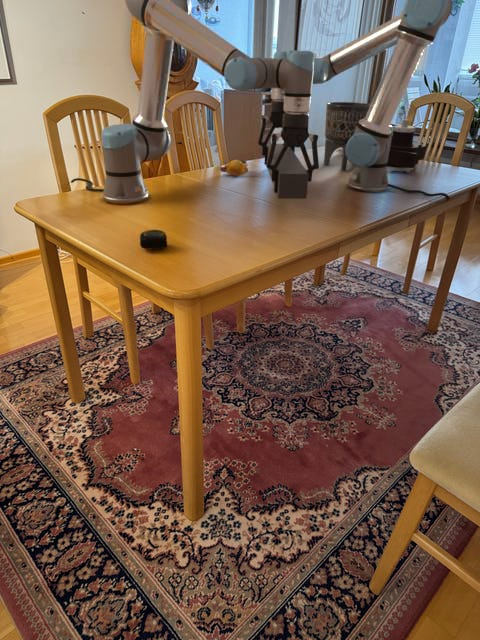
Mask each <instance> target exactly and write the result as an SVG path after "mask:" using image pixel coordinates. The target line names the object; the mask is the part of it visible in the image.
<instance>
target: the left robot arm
mask: <svg viewBox="0 0 480 640" xmlns="http://www.w3.org/2000/svg"><path fill="white" fill-rule="evenodd" d="M124 1H125V5H126V7H127V10H128V11H129V13H130V14H131V15H132V17H134V18H135V19H136V21H138V22H140V23H141V26H142V28H143V29H144V31H145V33H146V34H145V43H144V51H143V52H144V54H143V63H142V70H141V71H142V72H141V81H140V89H139V90H140V91H139V100H138V109H137V110H138V111H137V113H136V114H135V115H133V116H132V123H119V124H111V125H108V126H106V127H104V128H103V129H102V130H101V133H100V136H101V138H100V139H101V142H100V144H101V148H102V155H103V164H104V170H105V181H104V187H103V188H92V186H93V185H94V183H93V181H91V180H88V179H85V178H80V177H77V178H73V179H72V180H70V184H73V183H74V182H76V181H81V182H86V183H88V184H86V185H85V190H87V191H90V192H102V198H103V199H102V200H103V201H104V202H105V203H108V204H112V205H135V204H140V203H143V202H145V201H147V200H148V199H149V191H148V189H147V186H146V184H145V181H144V179H143V177H142V169H141V164H145V163H147V162H154V161H157V160H159V159H161V158H163V157H165V156H166V155H167V153H168V152H169V150H170V149H171V148H170V147H171V142H172V141H171V135H170V134H169V130H168V129H167V127H168V124H167V122H166V121H165V119H164V116H165V109H166V103H167V102H166V101H167V95H168V87H169V81H170V80H169V79H170V73H171V67H172V59H173V52H174V51H173V50H174V45H175V43H176V44H177V45H178V46H180V47H181V48H183V49H184V50H186V51H187V52H188V53H190V54H191V55H192V56H194V57H195V58H197V59H198V60H200V61H201V62H202V63H204V64H205V65H207V66H208V67H209V68H211V69H212V70H214V71H215V72H217V73H218V74H219V75H220V76H222V77H224V80H225V82H226V84H227V85H228V86H229V87H230V88H231V89H232V90H235V91H239V92H245V91H250V90H251V91H252V90H261V89H272V88H279V89H285V96H284V111H285V113H284V114H283V126H282V128H281V131H280V132H276V133H275V132H273V133H272V134H271V137H270V139H271V142H270V144H271V146H270V150H269V154H268V158H267V162H266V165H265V166H266V169H267V170H268V169H271V170H272V172H271V177H270V179H271V182H272V181H274V185H273V192H274V193H275V194H277V187H278V169H277V167H278V165H279V163H280V161H281V159H282V157H283V156H284V154H285V152H286V150H287V149H288V147H295V148H298V149H299V148H300V151H301V154H302V157H303V159H304V161H305V165H306V167H307V169H306V171H307V172H308V174H309V177H308V183H311V182H312V178H313V172H314V171H315V170H319V169H320V162H319V152H318V140H319V135H318V134H317V133H310V132H309V123H310V115H309V112H310V111H311V100H312V90H313V89H312V87H313V84H312V80H313V72H314V59H315V54H314V52H313V51H312V50H288V51H287V52H288V53H287V57H286V58H284V59H276V58H274V57H261V56H260V57H258V56H257V57H250V56H249V55H247V54H245V52H243V51H241V50H240V49H239V48H237V47H236V46H234V45H233V44H232V43H230V42H229V41H227V40H226V39H225V38H223V37H222V36H220V35H219V34H218V33H216V32H215V31H213V30H212V29H211V28H209V27H207V25H205V24H204V23H202V22H201V21H199V20H198V19H196V18H195V17H193V16H192V15H191V12H192V2H191V1H192V0H124ZM280 138H281V139H282V141H283V143H282V144H283V145H282V148H281V150H280V151H279V153H278V155H277V157H276V159H275V161H274V163H273V165H272V164H271V163H272V159H273V155H274V151H275V147H276V144H277V142H278V141H279V140H280ZM308 139H309V142H311V152H312V153H311V154H312V162H313V164H312V162H311V160H310V157H309V154H308V151H307V148H306V145H305V143H306V141H307V140H308ZM308 187H309V186H308ZM308 187H307V189H308Z"/></svg>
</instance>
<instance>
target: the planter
mask: <svg viewBox="0 0 480 640" xmlns="http://www.w3.org/2000/svg"><path fill="white" fill-rule="evenodd" d="M370 105H371V103H367V102H353V101H333V102H327V103H326V109H325V124H324V125H325V126H324V139H325V144H324V156H323V157H324V158H323V165H325V166H328V165H330V163H331V158H332V156H333V154H334V153H335V152H336V150H337V149H338V148H340V147H342V153H341V166H340V170H341V172H345V171H347V167H348V166H347V165H348V159H347V157H346V153H345V149H346V144H347V142H348V140H349V139H350V138H351V137H352V136H353V134H354V132H355V130H356V127H357V125H358V122H359V121H360V120H362V119H364V118H365V117H366V115H367V112H368V110H369V108H370Z"/></svg>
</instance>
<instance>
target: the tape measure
mask: <svg viewBox="0 0 480 640" xmlns="http://www.w3.org/2000/svg"><path fill="white" fill-rule="evenodd" d="M167 236H168V235H167V234H166V232H165V231H164V230H161V229H147V230H144V231H143V232H141V233H140V235H139V240H140V241H139V245H140V246H139V247H141V248H142V249H146V250H157V249H167V248H168V240H167V239H168V237H167Z"/></svg>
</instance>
